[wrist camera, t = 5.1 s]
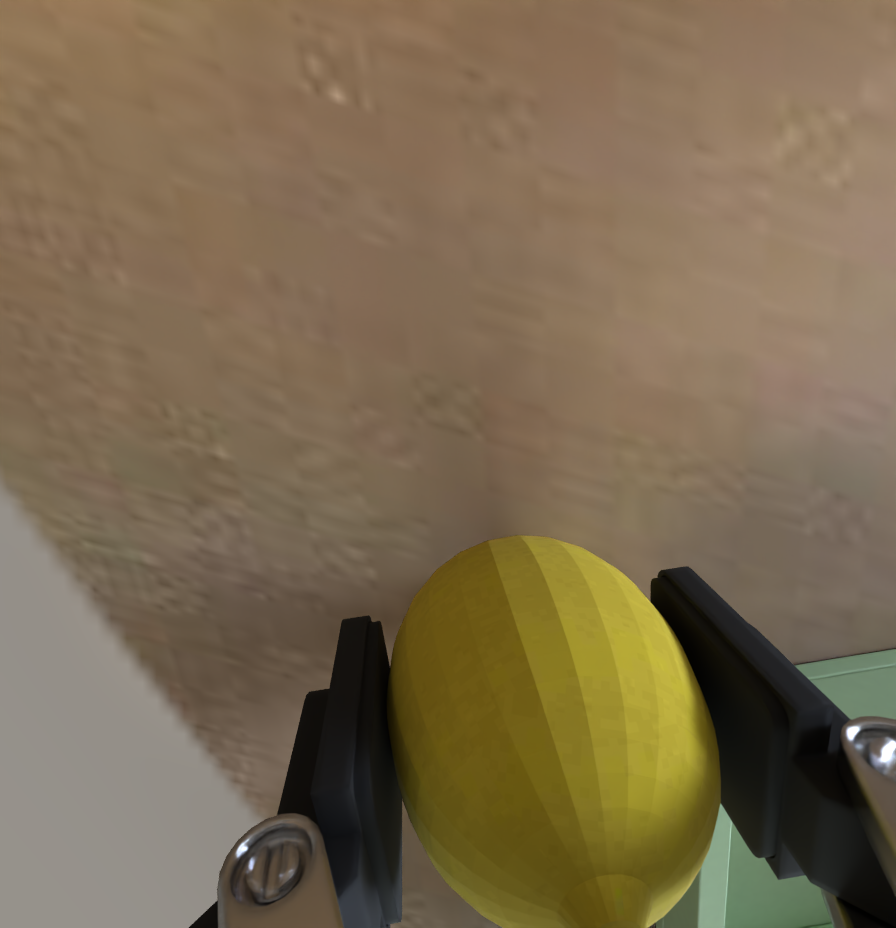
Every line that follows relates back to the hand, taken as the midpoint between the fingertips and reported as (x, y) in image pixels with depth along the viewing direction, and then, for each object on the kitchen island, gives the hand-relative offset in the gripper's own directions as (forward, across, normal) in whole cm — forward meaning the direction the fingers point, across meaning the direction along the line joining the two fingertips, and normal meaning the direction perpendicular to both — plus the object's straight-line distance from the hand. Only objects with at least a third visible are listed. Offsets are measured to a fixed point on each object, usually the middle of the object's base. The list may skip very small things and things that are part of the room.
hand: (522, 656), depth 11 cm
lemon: (+3, 0, 0) cm, 3 cm away
